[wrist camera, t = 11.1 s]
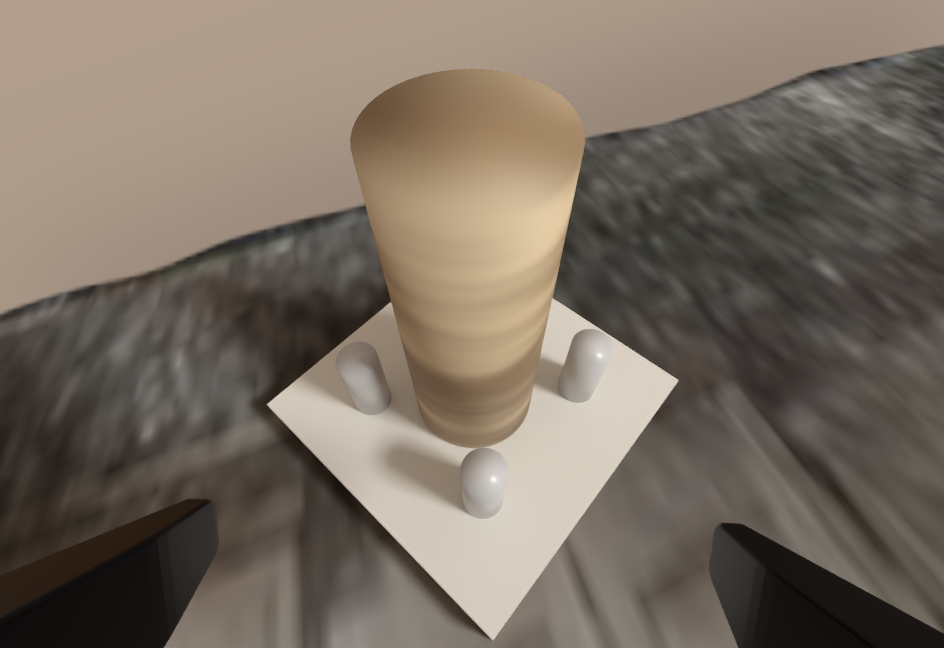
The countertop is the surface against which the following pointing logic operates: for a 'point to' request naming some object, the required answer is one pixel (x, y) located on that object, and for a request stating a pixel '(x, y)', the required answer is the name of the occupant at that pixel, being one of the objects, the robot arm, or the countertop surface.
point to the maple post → (470, 235)
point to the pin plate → (434, 464)
